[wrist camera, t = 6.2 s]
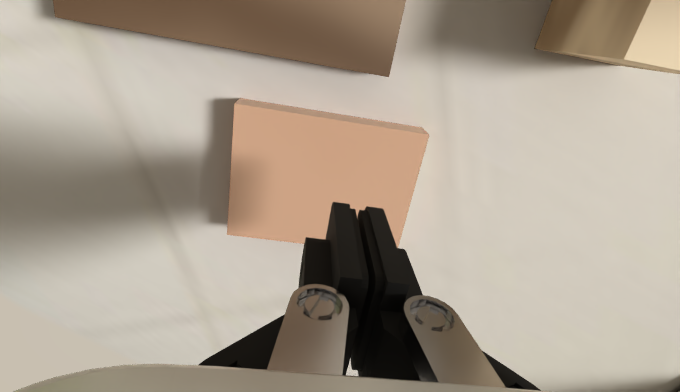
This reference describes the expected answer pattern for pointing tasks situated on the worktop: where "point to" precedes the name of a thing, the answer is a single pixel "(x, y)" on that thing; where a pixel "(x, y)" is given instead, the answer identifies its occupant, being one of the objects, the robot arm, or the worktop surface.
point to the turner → (615, 32)
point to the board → (262, 26)
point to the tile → (316, 170)
